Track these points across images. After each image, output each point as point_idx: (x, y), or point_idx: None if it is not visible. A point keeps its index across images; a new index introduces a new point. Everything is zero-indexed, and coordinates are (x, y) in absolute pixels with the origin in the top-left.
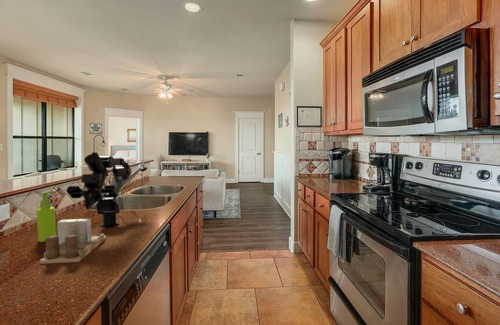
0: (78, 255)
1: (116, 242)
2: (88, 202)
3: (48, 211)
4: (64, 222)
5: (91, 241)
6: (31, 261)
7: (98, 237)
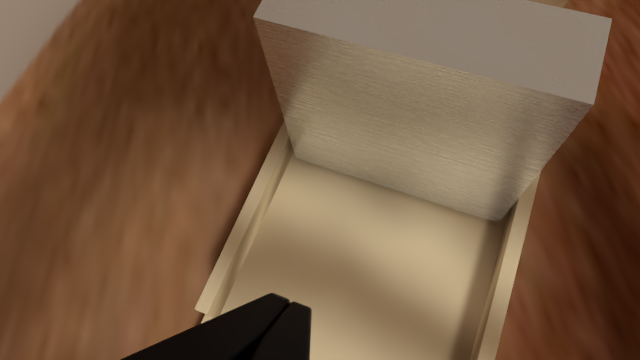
0: None
1: (139, 217)
2: (221, 355)
3: None
4: (523, 5)
5: (293, 145)
6: (631, 106)
7: (242, 215)
